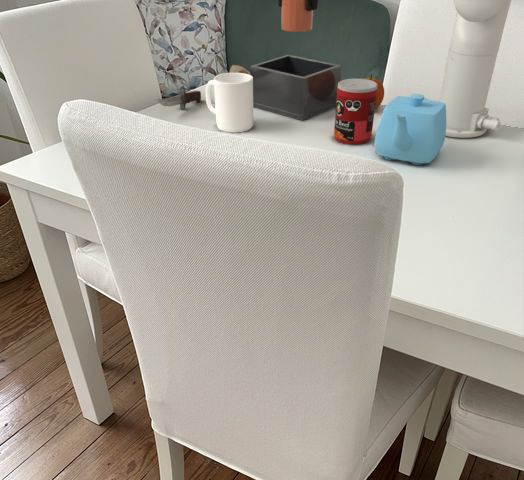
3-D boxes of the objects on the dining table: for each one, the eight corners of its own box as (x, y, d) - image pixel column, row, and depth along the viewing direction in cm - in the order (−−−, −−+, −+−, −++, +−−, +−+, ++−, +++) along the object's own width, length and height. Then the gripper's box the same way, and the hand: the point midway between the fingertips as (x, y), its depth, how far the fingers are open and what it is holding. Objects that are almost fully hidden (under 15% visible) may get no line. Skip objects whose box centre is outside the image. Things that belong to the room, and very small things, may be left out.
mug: (271, 98, 143) (253, 64, 135) (237, 116, 146) (218, 83, 138) (268, 82, 147) (250, 48, 140) (235, 99, 150) (216, 67, 143)
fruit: (353, 104, 138) (356, 69, 133) (382, 105, 138) (386, 70, 132) (352, 113, 133) (355, 77, 128) (382, 115, 132) (386, 78, 127)
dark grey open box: (338, 105, 138) (341, 65, 132) (302, 120, 130) (304, 78, 124) (287, 92, 146) (288, 54, 140) (250, 106, 138) (250, 66, 132)
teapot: (359, 168, 109) (366, 106, 102) (389, 138, 121) (397, 80, 114) (423, 180, 105) (435, 116, 97) (447, 148, 117) (460, 89, 109)
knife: (161, 122, 130) (159, 99, 126) (156, 121, 130) (154, 98, 127) (201, 101, 141) (200, 79, 138) (197, 100, 142) (195, 78, 138)
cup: (239, 135, 123) (237, 85, 116) (196, 125, 128) (192, 76, 121) (260, 124, 128) (260, 76, 121) (218, 114, 133) (216, 68, 127)
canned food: (327, 135, 123) (330, 80, 115) (359, 130, 125) (364, 76, 118) (344, 147, 117) (349, 91, 110) (378, 141, 120) (385, 86, 112)
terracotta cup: (318, 28, 127) (320, -20, 121) (299, 33, 123) (301, -16, 117) (294, 24, 130) (295, -23, 124) (275, 29, 126) (275, -19, 120)
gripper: (348, -96, 110) (340, 10, 122) (279, -98, 119) (277, 0, 130) (325, -94, 106) (319, 15, 117) (255, -97, 115) (256, 5, 126)
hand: (297, 7), depth 124 cm, fingers closed on terracotta cup, 6 cm apart
